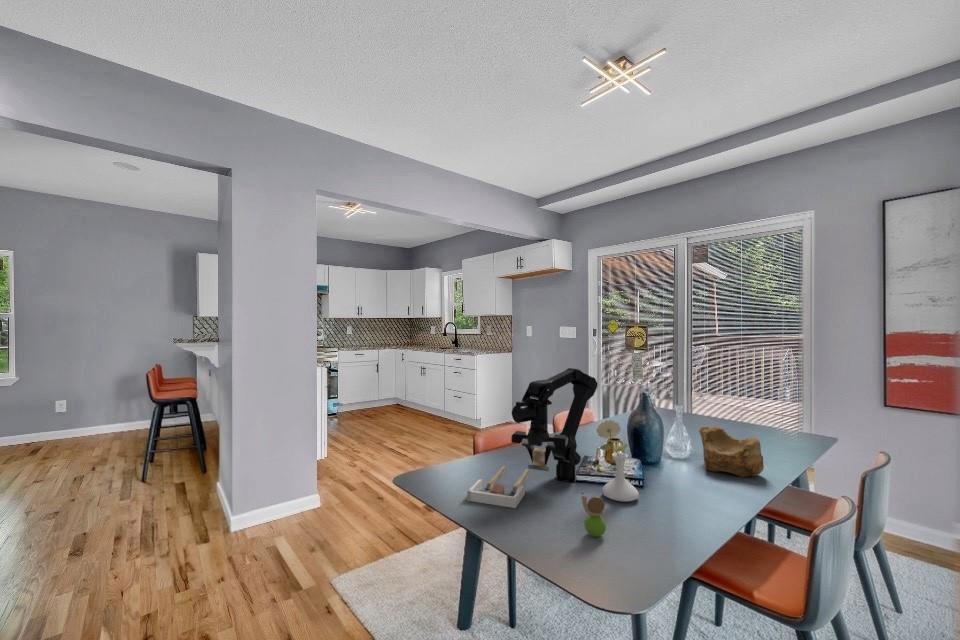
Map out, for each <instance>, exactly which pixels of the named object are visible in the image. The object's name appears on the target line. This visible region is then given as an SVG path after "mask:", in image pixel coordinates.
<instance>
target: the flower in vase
mask: <svg viewBox="0 0 960 640" xmlns="http://www.w3.org/2000/svg"><path fill="white" fill-rule="evenodd" d="M595 431H596V433H597V436H598V437H600V438H603V439H610V443H611V444H602V445H601V446H600V447H599V448H598V449H599V450H603V451H610V450H611V449H612V448H613V450H614V452H613V453H611V457H612V458H613V459H614V461H615V467H616V470H615V471H616V474H615V477H614V478H613V479H612V480H610V481H609V482H607V483H606V484H605V485H604V486H603V487H602V489H601V493H602V494H603V495H604V496H605V497H607V498H608V499H610V500H614V501H615V502H616V501H617V502H624V503H625V502H633V501H635V500H637V499H638V498H639V496H640V493H639V491H638V489H637V488H636V487H635V486H634V485H632V484H631V483H630V482H629V481H628V480H627V479H626V478H625V472H624V471H625V463H626V460H627V458H628V457H629V454H628V453H623V451H625V450H626V449H627V447H628V443H625V444H621V445H618V447H617V449H616V448H615V446H614V445H613V437H617V436H618V434H619V433H620V432H621V431H622V430H621V426H620V423H619V422H616V421H615V420H611V419H609V420H604V421H602V422H601V423H600V424H598V425H597V428H596V429H595Z"/></svg>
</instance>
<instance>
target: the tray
mask: <svg viewBox="0 0 960 640" xmlns="http://www.w3.org/2000/svg"><path fill="white" fill-rule="evenodd" d="M481 490H483V479H481V478H479V479H478V480H477V481H476V482H475V483H474V484H473V485H471V487H470V488H469V489H468V490H467V496H466V497H467V500H466V501H469V502H475V503H482V504H485V505H486V504H488V505H495V506H499V507H500V506H501V507H507V508H512V509H516V508H517V506H518V505H519V503H520V502H521V501H522V499H523V498H524V496H525V494H526V491H525V484H523V485H521V486H520V488H519V489H518V491H517V492H516V493H514V495H512V496H511V495H505V494H504V495H499V494H492V493H490V492H486V491H485V492H484V491H481Z"/></svg>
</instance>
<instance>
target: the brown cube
mask: <svg viewBox="0 0 960 640" xmlns="http://www.w3.org/2000/svg"><path fill="white" fill-rule="evenodd" d="M493 487H496V488H502V495H505V484H499V483H496V484H495V485H494V486H493ZM493 487H492V488H493Z"/></svg>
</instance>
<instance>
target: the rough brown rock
mask: <svg viewBox="0 0 960 640" xmlns="http://www.w3.org/2000/svg"><path fill="white" fill-rule="evenodd" d="M698 433H699V435H700V437H701V443H702V449H703V451H702V452H703V455H702V456H703V462H704V465H705V466H704V469H705V470H706V471H708V472H726V473H730V474H733V475H734V476H738V477H741V478H749V477H754V476H755V477H756V476H757V475H760V474H761V473H762V472H763V471H764V468H765V467H764V456H763V455H762V449H761V448H762V447H761V442H760V440H759V439H757V438H753V437H747V438H745V439H739V438H735V437H733V436H731V435H729V434H728V433H727V432H726V431H725V429H724V428H722V427H719V426H711V427H709V426H701V427H699V430H698Z"/></svg>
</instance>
